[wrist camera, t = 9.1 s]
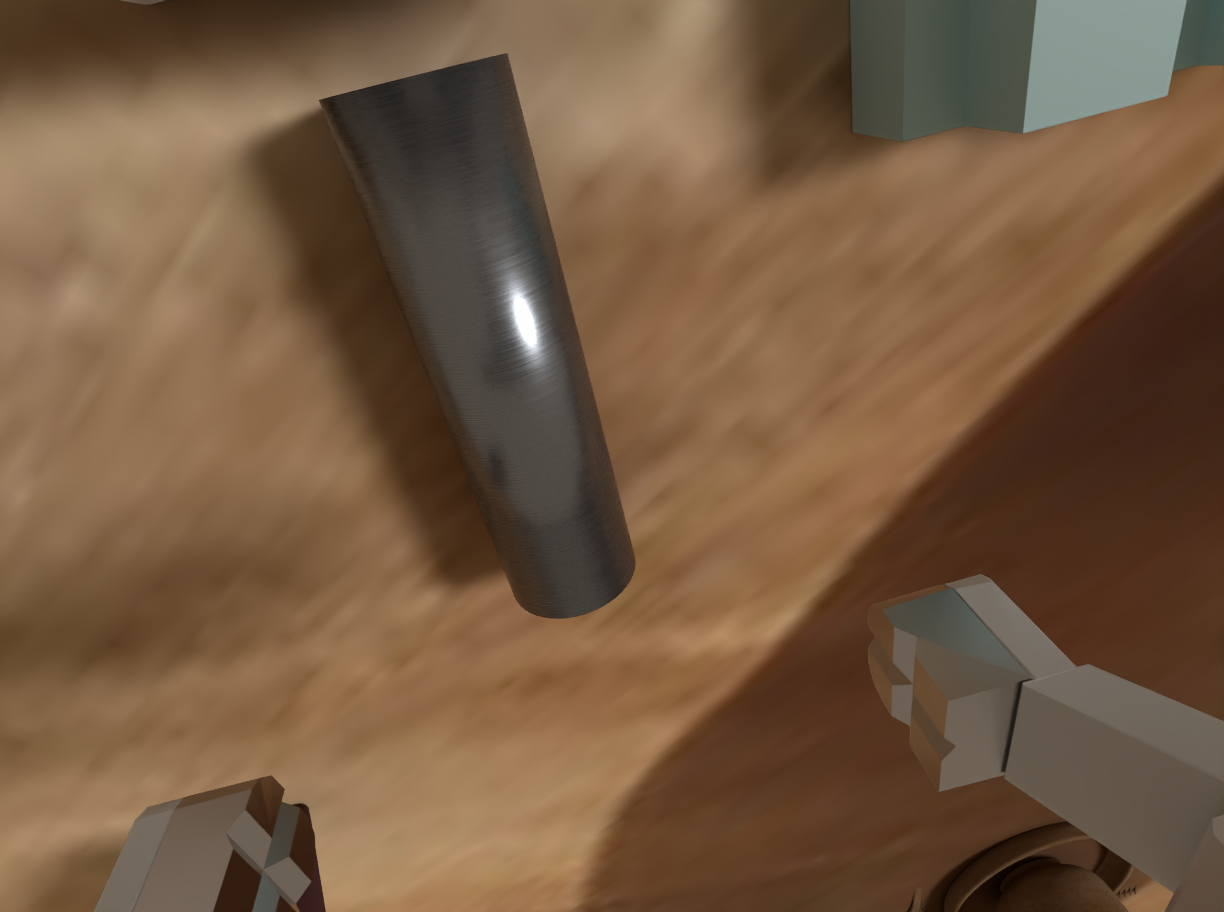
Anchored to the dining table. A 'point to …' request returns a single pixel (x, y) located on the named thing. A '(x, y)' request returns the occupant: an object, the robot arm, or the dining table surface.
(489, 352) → the axle
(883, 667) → the robot arm
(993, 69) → the v block
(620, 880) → the dining table surface
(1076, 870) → the place setting
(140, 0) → the white notched block
